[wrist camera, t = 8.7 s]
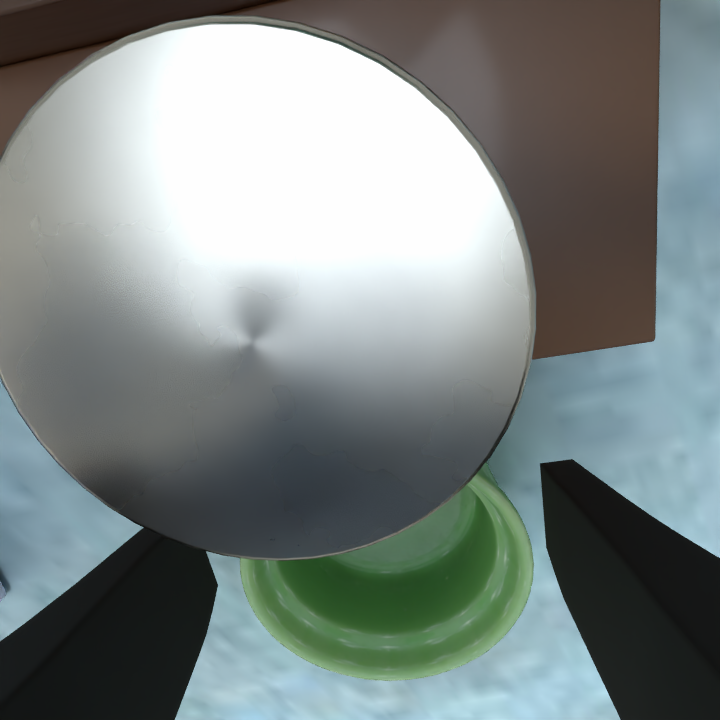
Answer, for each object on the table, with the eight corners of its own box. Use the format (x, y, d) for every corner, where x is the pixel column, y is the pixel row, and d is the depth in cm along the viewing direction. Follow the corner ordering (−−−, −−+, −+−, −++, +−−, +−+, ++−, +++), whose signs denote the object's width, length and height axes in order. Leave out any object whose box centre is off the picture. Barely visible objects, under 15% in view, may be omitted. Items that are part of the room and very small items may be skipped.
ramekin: (351, 613, 22) (343, 716, 18) (221, 457, 20) (177, 536, 15) (544, 525, 20) (585, 619, 16) (426, 338, 17) (438, 393, 13)
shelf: (596, 302, 17) (716, 381, 11) (162, 372, 18) (53, 475, 12) (586, -70, 13) (755, -265, 7) (54, 57, 15) (-173, -14, 9)
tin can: (460, 323, 13) (559, 538, 6) (253, 356, 14) (91, 591, 6) (430, 83, 11) (521, -76, 4) (191, 135, 12) (-148, 87, 4)
